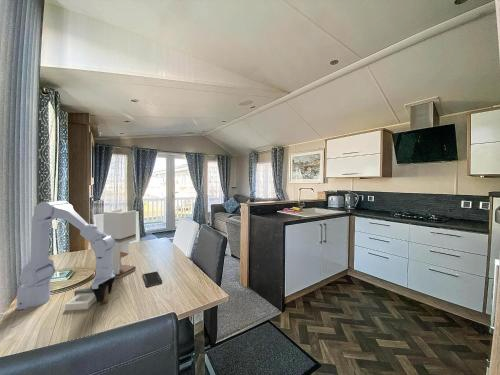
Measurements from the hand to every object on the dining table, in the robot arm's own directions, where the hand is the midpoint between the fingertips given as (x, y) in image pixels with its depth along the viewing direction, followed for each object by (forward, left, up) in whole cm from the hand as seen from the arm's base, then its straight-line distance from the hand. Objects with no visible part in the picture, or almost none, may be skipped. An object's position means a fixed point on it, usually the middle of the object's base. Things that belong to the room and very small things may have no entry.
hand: (104, 297), depth 89 cm
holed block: (-8, 0, -2) cm, 8 cm away
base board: (-8, -3, -3) cm, 9 cm away
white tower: (-7, +32, -3) cm, 33 cm away
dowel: (0, 0, -3) cm, 3 cm away
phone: (+13, +22, -4) cm, 26 cm away
